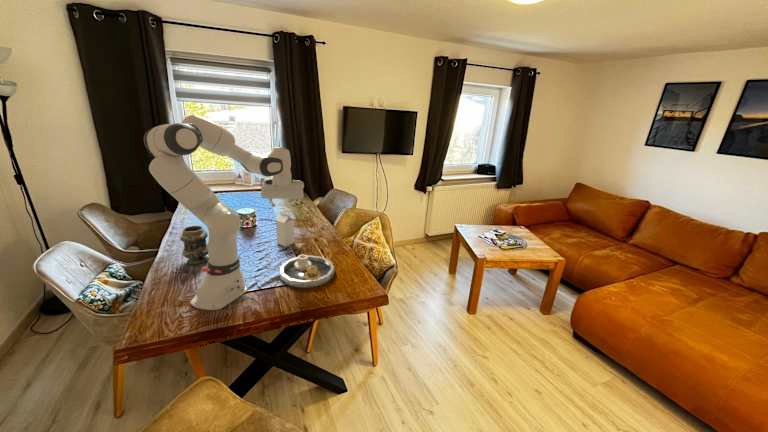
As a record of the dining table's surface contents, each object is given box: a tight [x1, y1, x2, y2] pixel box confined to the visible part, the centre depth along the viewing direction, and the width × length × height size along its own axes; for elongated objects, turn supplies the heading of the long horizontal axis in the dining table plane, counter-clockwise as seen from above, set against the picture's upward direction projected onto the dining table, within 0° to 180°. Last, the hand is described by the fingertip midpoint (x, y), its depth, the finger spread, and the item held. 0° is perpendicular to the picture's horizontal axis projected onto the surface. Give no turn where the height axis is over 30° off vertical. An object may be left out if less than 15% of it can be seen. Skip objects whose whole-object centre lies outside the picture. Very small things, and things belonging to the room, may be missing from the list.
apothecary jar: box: [179, 225, 209, 267], centre depth 152 cm, size 12×12×18 cm
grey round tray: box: [279, 255, 335, 289], centre depth 150 cm, size 26×26×7 cm
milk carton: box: [275, 212, 295, 248], centre depth 178 cm, size 7×7×19 cm
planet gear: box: [294, 254, 311, 271], centre depth 155 cm, size 8×8×6 cm
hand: (283, 206), depth 155 cm, fingers open, 8 cm apart
